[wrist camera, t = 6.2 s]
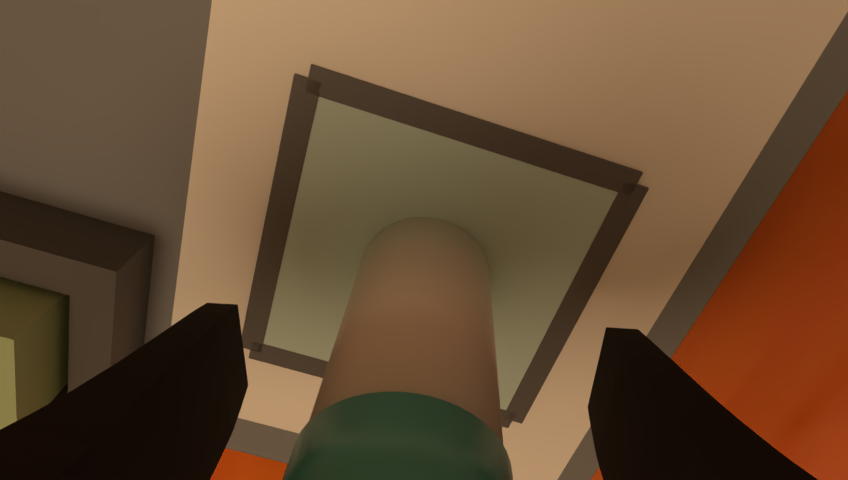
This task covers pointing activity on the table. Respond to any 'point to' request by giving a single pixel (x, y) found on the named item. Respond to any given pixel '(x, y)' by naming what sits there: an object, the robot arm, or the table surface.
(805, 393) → the table surface
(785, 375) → the table surface
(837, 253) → the table surface
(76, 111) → the colouring board
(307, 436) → the marker
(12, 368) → the button
